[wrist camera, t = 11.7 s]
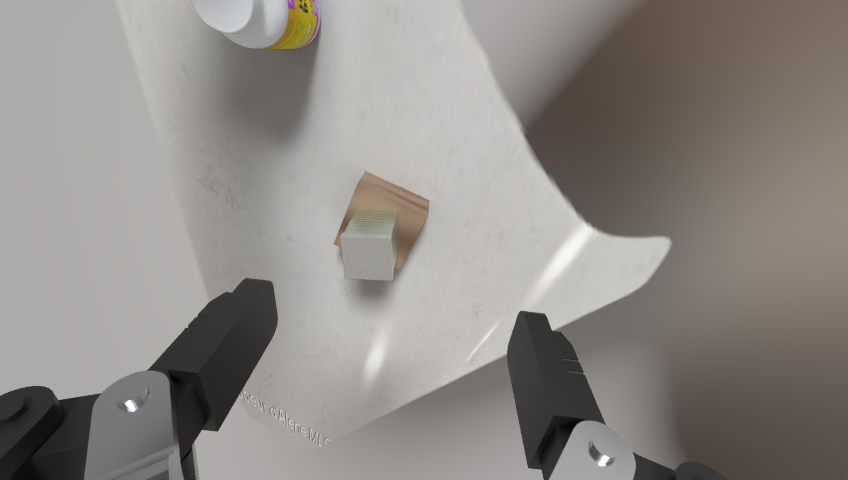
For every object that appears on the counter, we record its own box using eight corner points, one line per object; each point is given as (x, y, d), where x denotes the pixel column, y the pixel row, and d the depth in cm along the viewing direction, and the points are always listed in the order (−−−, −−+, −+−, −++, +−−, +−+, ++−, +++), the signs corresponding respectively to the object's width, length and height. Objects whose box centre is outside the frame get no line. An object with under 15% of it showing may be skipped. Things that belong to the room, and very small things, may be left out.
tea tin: (355, 208, 41) (340, 236, 35) (399, 209, 41) (390, 238, 35) (359, 246, 44) (345, 278, 38) (399, 247, 44) (392, 280, 37)
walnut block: (366, 170, 44) (357, 183, 40) (429, 199, 46) (427, 215, 41) (343, 226, 48) (333, 244, 44) (402, 251, 50) (398, 271, 45)
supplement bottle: (335, 20, 36) (285, 8, 25) (292, 62, 38) (228, 68, 27) (288, -45, 34) (210, -91, 22) (245, 3, 36) (154, -16, 25)
